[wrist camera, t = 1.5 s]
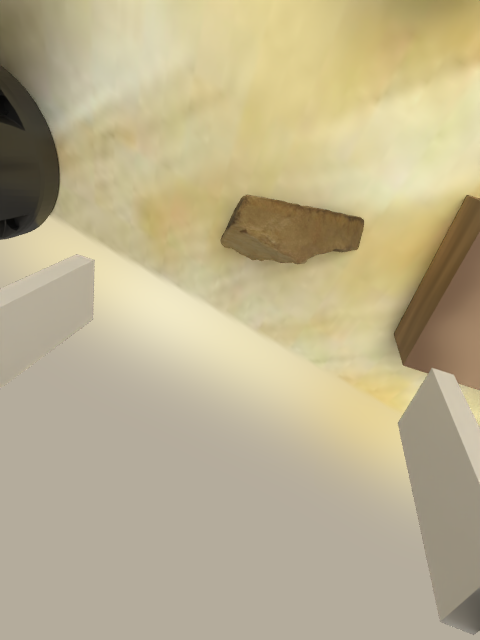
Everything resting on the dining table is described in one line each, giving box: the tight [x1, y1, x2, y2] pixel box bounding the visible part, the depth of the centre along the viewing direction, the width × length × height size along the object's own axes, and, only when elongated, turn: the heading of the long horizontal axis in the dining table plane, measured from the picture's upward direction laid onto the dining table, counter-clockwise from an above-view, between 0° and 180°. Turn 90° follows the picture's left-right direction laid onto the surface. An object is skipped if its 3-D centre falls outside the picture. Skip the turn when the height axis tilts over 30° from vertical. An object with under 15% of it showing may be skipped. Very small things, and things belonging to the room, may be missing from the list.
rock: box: [221, 195, 364, 264], centre depth 27 cm, size 11×9×10 cm
